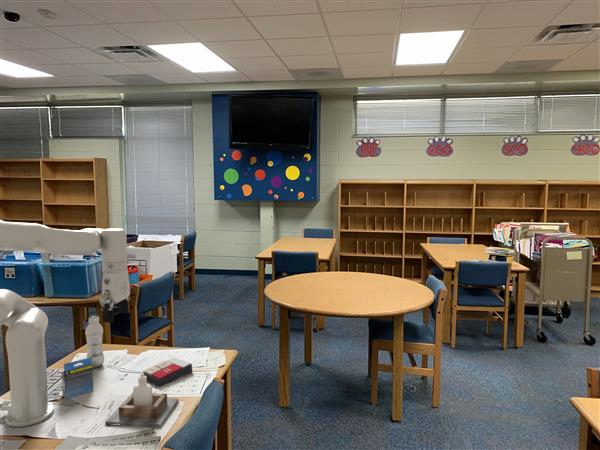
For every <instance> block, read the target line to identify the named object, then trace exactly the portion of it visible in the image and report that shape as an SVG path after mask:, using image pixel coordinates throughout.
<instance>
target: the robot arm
mask: <svg viewBox="0 0 600 450" xmlns="http://www.w3.org/2000/svg"><path fill="white" fill-rule="evenodd" d="M127 235H128V234H127V231H126V230H125V229H124V228H117V227H114V228H105V229H104V228H91V227H87V228H83V229H80V230H76V229H74V230H71V229H60V228H53V227H50V226H46V225H43V224H40V223H35V222H33V223H31V222H15V221H13V222H12V221H4V220H2V219H0V251H8V252H9V251H14V252H15V251H16V252H31V253H32V252H33V253H40V254H41V253H42V254H52V255H53V254H54V255H64V256H90V255H92V254H95V253H97V251H98V250H101V271H102V279H101V280H102V281H101V296H100V298H99V300H98V301H99V304H100V305H99V306H100V308H101V311H102V322H103V323H114V322H115V321H114V309H113V307H114V304H117V305H118V313H119V314H128V313H129V300H130V298H129V297H130V295H131V285H130V284H131V283H130V277H129V271H128V249H127V247H128V244H127V243H128V242H127ZM2 325H4V326H7V327H8V328H7V330H6V333H5V346H6V352H7V359H8V360H7V361H8V373H9V374H8V375H9V393H10V395H9V396H10V400H8V399H6V400H4V401H3V402H2V405H1V406H0V411H7V414H6V416H5V424H6V425H7V426H9V427H15V428H22V427H27V426H28V427H29V426H31V425H35V424H38V423H41V422H43V421H44V420H46V419H48V418H49V417H50V416H51V415H53V413H54V410H55V406H54V404H53V403H50V402H49V400H48V399H49V398H48V395H49V393H48V377H47V376H48V374H47V373H48V372H47V357H46V344H45V334H46V332H47V331H46V330H47V328H48V325H49V319H48V316H47V314H46V312H45V311H43V310H42V309H41V308H39V307H38V306H36V305H35V304H33V303H32V302H31V301H28V300H27V299H26V298H24V297H23V296H21V295H19V294H18V293H16V292H14V291H12V290H10V289H6V288H0V326H2Z"/></svg>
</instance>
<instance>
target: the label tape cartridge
mask: <svg viewBox="0 0 600 450" xmlns="http://www.w3.org/2000/svg"><path fill="white" fill-rule="evenodd" d="M86 358H87V357H86ZM86 358H83V359H78V360H75V361H70V362H68V363H64V364H63V370H64V371H62V372H61V387H62V388H61V389H62V390H61V391H62V393H61V394H62V397H63V398H64V399H65V400H67V399H70V397H71V398H73V397H72V396H74V397H76V396H75V395H77V396H79V395H78V394H80V395H84V394H86V392H87V393H90V392H93V391H94V371H93V369H94V368H92V357H91V358H87V359H86ZM74 365H75V366H74ZM92 390H93V391H92Z"/></svg>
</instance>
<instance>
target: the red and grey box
mask: <svg viewBox="0 0 600 450" xmlns="http://www.w3.org/2000/svg"><path fill="white" fill-rule="evenodd" d="M141 373H144V376H146V377H147V383H149V384H153V385H154V386H157V387H158V388H161V387H164V386H165V385H168V384H170V383H172V382H174V381H176V380H178V379H180V378H182V377H186V376H187V375H189V374H192V373H193V365H192V363H190V362H188V361H185V360H182V359H180V358H177V357H175V356H173V357H170V358H169V359H167V360H163V361H162V362H159V363H157V364H155V365H152V366H150V367H148V368H146V369H144V370H142V372H141Z"/></svg>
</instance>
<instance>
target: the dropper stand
mask: <svg viewBox="0 0 600 450" xmlns="http://www.w3.org/2000/svg"><path fill="white" fill-rule="evenodd" d="M178 403H179V398H176V397H175V398H171V397H168V393H157V392H152V405H153V406H134V401H133V392H132V393H130V395H129V396H128V397H127V398H126V399H125V400H124V401H123V402H122V403H121V404H120V405H119V407H118V408H116V409H115V410H114V412H113V413H112V414H111V415H109V417H108V418H106V420H105V422H104V425H105V424H120V425H119V426H123V425H127V426H128V427H143V428H144V427H145V428H147V427H148V428H161V427H162V426H163V424H164V423H165V422H166V420H167V419H168V418H169V416H170V415H171V413H172V412H173V411H174V409H175V407H176V406H177V404H178Z"/></svg>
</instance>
